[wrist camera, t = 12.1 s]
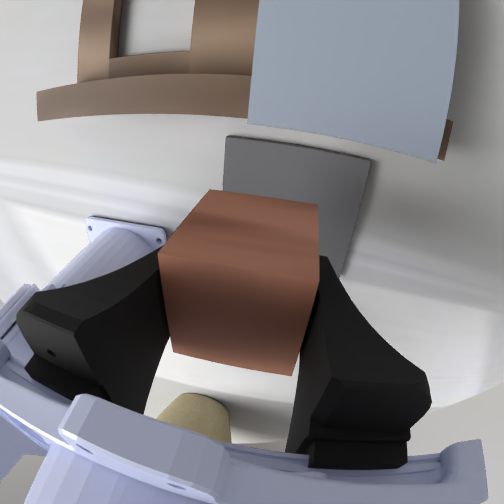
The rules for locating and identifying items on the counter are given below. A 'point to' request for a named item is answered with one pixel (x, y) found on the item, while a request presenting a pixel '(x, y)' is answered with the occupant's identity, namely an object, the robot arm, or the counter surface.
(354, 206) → the mat
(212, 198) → the block
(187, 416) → the plant pot
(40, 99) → the brown tray
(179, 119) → the counter surface
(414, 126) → the lid
